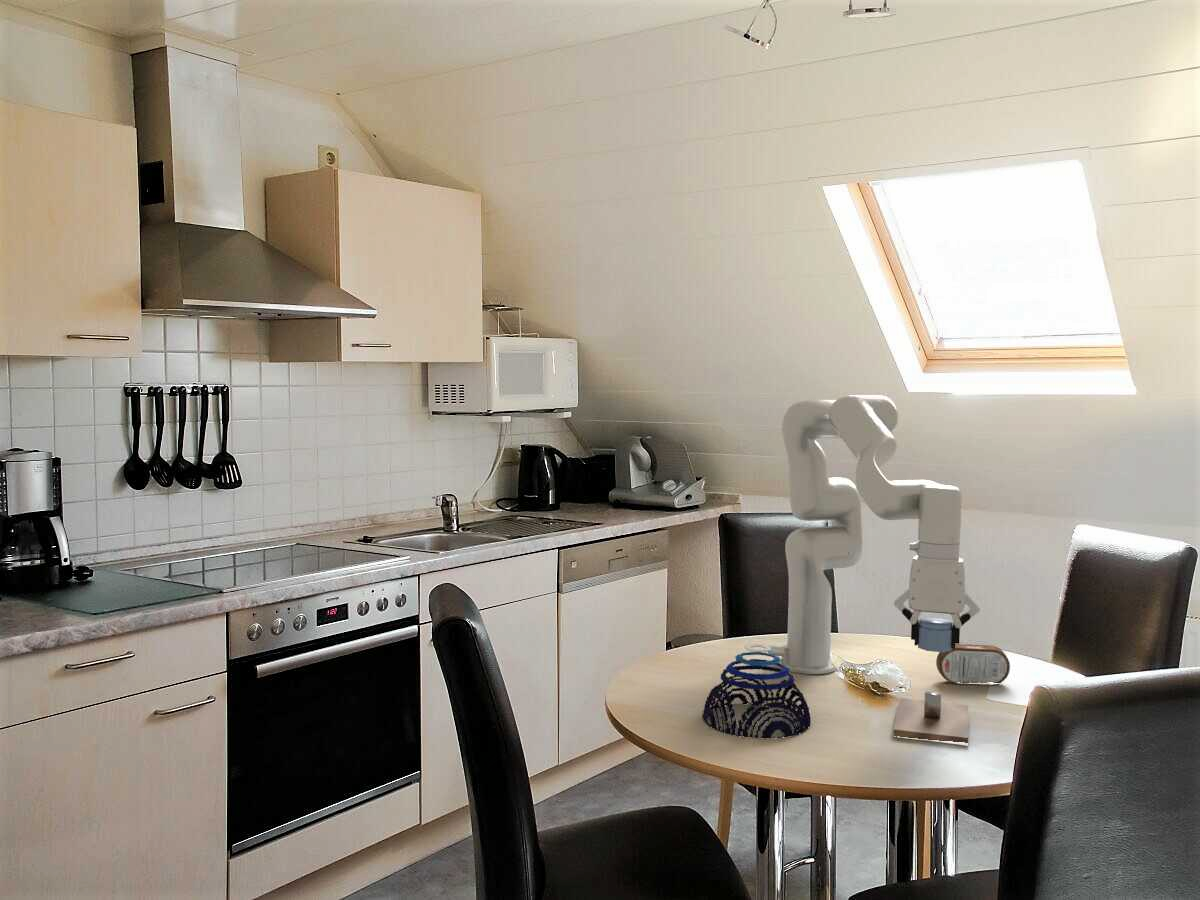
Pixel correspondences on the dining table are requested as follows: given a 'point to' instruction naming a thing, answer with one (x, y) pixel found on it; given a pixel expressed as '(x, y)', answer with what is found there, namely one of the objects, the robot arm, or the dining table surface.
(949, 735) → the post base
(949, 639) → the cap
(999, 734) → the dining table surface
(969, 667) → the tin
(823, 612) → the robot arm
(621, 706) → the dining table surface
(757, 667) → the decorative bowl
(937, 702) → the post
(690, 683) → the dining table surface
